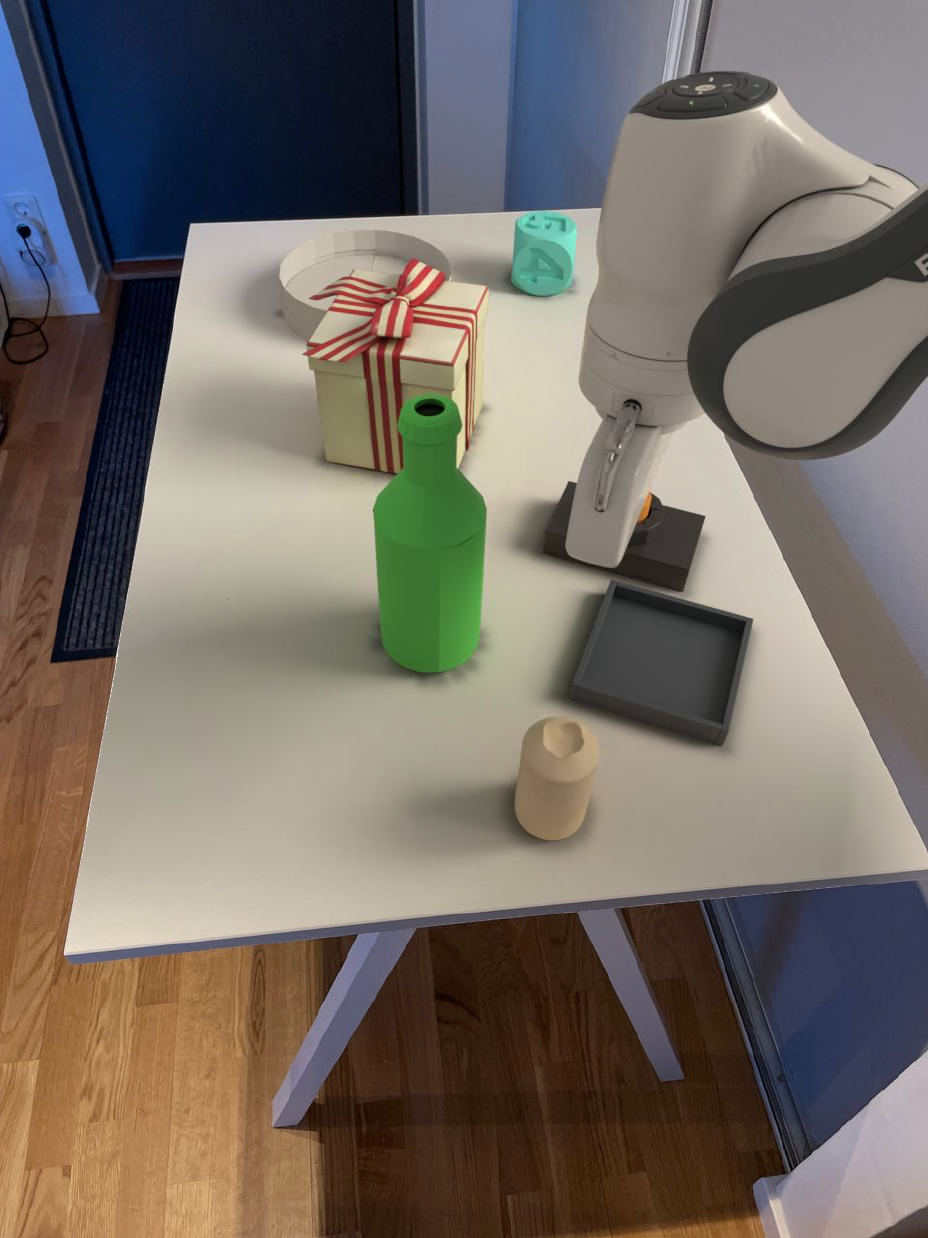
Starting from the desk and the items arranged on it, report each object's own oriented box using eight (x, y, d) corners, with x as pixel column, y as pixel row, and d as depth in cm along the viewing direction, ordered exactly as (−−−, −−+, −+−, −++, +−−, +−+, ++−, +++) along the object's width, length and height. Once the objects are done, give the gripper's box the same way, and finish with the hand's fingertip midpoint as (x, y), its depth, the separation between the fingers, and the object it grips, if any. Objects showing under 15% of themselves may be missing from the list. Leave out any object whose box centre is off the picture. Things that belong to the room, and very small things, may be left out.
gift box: (330, 383, 108) (316, 241, 95) (485, 400, 107) (492, 258, 94) (290, 475, 97) (268, 328, 84) (463, 495, 96) (467, 349, 83)
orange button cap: (651, 504, 89) (655, 487, 87) (643, 527, 86) (646, 511, 85) (615, 494, 89) (618, 478, 88) (605, 517, 87) (609, 501, 86)
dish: (297, 260, 127) (293, 225, 124) (456, 267, 127) (457, 232, 124) (268, 348, 113) (262, 311, 109) (447, 357, 113) (448, 320, 109)
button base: (699, 537, 92) (710, 500, 88) (683, 591, 87) (694, 554, 83) (565, 502, 95) (570, 464, 92) (542, 553, 90) (547, 514, 86)
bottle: (459, 595, 86) (466, 362, 68) (494, 662, 81) (513, 430, 62) (368, 618, 84) (350, 385, 65) (399, 690, 79) (388, 458, 60)
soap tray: (748, 633, 84) (753, 618, 82) (722, 746, 76) (728, 732, 74) (608, 593, 87) (611, 578, 85) (568, 698, 79) (571, 684, 77)
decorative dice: (570, 298, 123) (577, 240, 117) (510, 294, 123) (514, 236, 117) (570, 268, 128) (576, 211, 122) (512, 265, 128) (516, 208, 122)
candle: (499, 806, 71) (507, 733, 64) (548, 766, 74) (562, 691, 66) (550, 855, 69) (564, 785, 61) (599, 812, 71) (619, 739, 64)
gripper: (661, 472, 51) (623, 636, 61) (731, 297, 63) (690, 457, 74) (552, 444, 52) (533, 609, 62) (641, 279, 65) (613, 438, 75)
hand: (618, 525), depth 68 cm, fingers closed
